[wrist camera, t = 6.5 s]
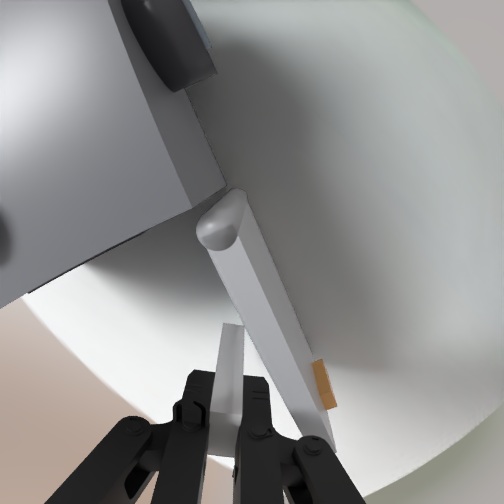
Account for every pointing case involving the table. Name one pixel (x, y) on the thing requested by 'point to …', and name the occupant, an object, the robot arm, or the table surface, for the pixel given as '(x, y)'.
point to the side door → (267, 312)
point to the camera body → (95, 130)
